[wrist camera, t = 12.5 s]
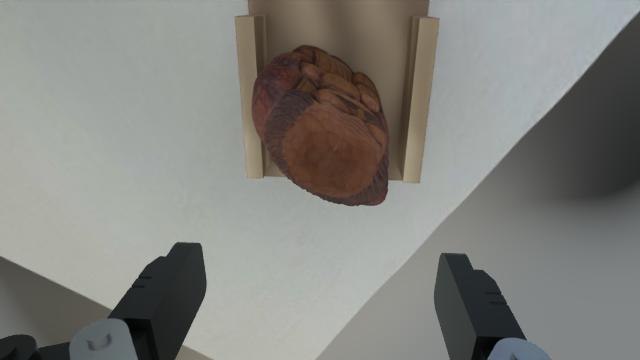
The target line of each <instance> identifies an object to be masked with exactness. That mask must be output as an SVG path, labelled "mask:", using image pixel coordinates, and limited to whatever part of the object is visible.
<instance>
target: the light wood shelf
mask: <svg viewBox="0 0 640 360" xmlns="http://www.w3.org/2000/svg"><path fill="white" fill-rule="evenodd" d="M428 6H429V0H248V8H249V15H244V16H236V17H235V25H236V38H237V51H238V65H239V78H240V91H241V104H242V117H243V130H244V143H245V156H246V169H247V178H263V177H264V176H272V177H286V176H285V175H284V174H283V173H281V172H280V170H279V168H278V167H277V166H276V165H275V164H274V162H273V160H272V158H271V156H270V155H269V151H268V150H267V147H266V145H265V144H264V143H263V142H262V140H261V139H260V137H259V135H258V134H257V132H256V129H255V126H254V122H253V119H252V111H251V107H252V95H253V87H254V83H255V80H256V78H257V77H258V75H259V73H260V72H261V71H262V70H263V69H264V68H265V67H266V66H267V65H268V64H270V62H271V61H272V59H273V58H274V57H276V56H278V55H280V54H282V53H285V52H292V51H293V50H294V49H296V48H297V47H299V46H301V45H304V44H305V45H311V46H316V47H318V48H320V49H322V50H324V51H326V52H327V53H328V54H329V55H332V56H336V57H338V58H340V59H341V60H343V61H344V62H345V63H346V64H347V65H348V66H349V68H350V69H351V70H352V71H353V72H354V73H355V74H356V73H358V72H362V73H364V74H366V75H367V76H368V77H369V78H370V79H371V80H372V82H373V83H374V85H375V87H376V90H377V92H378V94H379V97H380V100H381V105H382V109H383V112H384V116H385V118H386V121H387V126H388V131H389V145H388V150H389V156H388V159H389V167H388V180H402V181H403V183H420V175H421V167H422V159H423V151H424V142H425V134H426V126H427V118H428V110H429V101H430V93H431V85H432V77H433V68H434V60H435V52H436V44H437V36H438V27H439V18H434V17H428V16H427V15H428Z"/></svg>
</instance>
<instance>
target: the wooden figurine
mask: <svg viewBox="0 0 640 360" xmlns="http://www.w3.org/2000/svg"><path fill="white" fill-rule="evenodd" d="M251 111H252V119H253V122H254V126H255V129H256V132H257V134H258V135H259V137H260V139H261V140H262V142H263V143H264V144H265V145H266V147H267V150H268V151H269V155H270V156H271V158H272V160H273V162H274V164H275V165H276V166H277V167H278V168H279V170H280V172H281V173H283V174H284V175H285V176H286V177H287V178H288V179H289V180H292V182H293V183H294V184H296V185H298V186H299V187H301V188H302V189H306V191H307V192H310V193H311V194H313V195H317V196H319V197H320V198H322V199H323V200H327V201H329V202H333V203H337V204H344V205H347V206H355V205H356V206H359V205H368V206H374V205H378V204H381V203H382V202H383V201H384V200H385V197H386V195H387V192H388V188H387V187H388V167H389V159H388V156H389V150H388V145H389V131H388V126H387V121H386V118H385V116H384V112H383V109H382V105H381V100H380V97H379V94H378V92H377V90H376V87H375V85H374V83H373V82H372V80H371V79H370V78H369V77H368V76H367V75H366V74H364V73H362V72H358V73H356V74H355V73H354V72H353V71H352V70H351V69H350V68H349V66H348V65H347V64H346V63H345V62H344V61H343V60H341V59H340V58H338V57H336V56H332V55H329V54H328V53H327V52H326V51H324V50H322V49H320V48H318V47H316V46H311V45H305V44H304V45H301V46H299V47H297V48H296V49H294V50H293V51H292V52H285V53H282V54H280V55H278V56H276V57H274V58H273V59H272V61H271V62H270V64H268V65H267V66H266V67H265V68H264V69H263V70H262V71H261V72H260V73H259V75H258V77H257V78H256V80H255V83H254V87H253V95H252V107H251Z"/></svg>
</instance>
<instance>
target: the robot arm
mask: <svg viewBox="0 0 640 360" xmlns="http://www.w3.org/2000/svg"><path fill="white" fill-rule="evenodd" d="M206 284H207V282H206V273H205V266H204V259H203V252H202V247H201V244H200V243H186V242H177V243H175V245H174V246H173V247H172V249H171V250H170V252H169V253H168V255H167V256H166V257H163V256H160V257H158V258H157V259H155V260H154V261H152V262H151V263H150V264H148V265H147V266H146V267H145V268H144V270H143V271H142V272H141V274H140V275H139V276H138V279H136V280H135V282H134V283H133V284H132V287H131V288H129V290H128V291H127V292H126V294H125V295H124V296H123V298H122V299H121V300H120V302H119V303H118V304H117V306H116V307H115V308H114V310H113V311H112V312H111V314H110V315H109V317H108V318H107V319H103V320H99V321H96V322H94V323H91V324H90V325H88V326H86V327H84V328H83V329H81V330H80V331H79V332H78V333H77V334H76V335H75V336H74V338H73V339H72V341H71V342H67V343H62V344H57V345H52V346H46V347H41V348H38V346H37V343H36V341H35V339H34V338H33V337H31V336H29V335H22V334H21V335H13V336H9V337H5V338H3V339H0V360H175V358H176V356H177V354H178V352H179V350H180V347H181V346H182V343H183V341H184V339H185V337H186V335H187V333H188V331H189V329H190V327H191V324H192V322H193V320H194V318H195V316H196V314H197V312H198V310H199V308H200V305H201V303H202V301H203V299H204V296H205V293H206ZM434 303H435V310H436V313H437V317H438V320H439V323H440V327H441V330H442V333H443V337H444V340H445V344H446V347H447V351H448V354H449V357H450V360H552V359H551V358H550V357H549V355H548V354H547V353H546V352H545V351H544V350H542V349H541V348H539V347H538V346H537V345H535V344H533V343H531V342H529V341H527V339H526V338H525V336H524V334H523V332H522V330H521V328H520V326H519V325H518V323H517V321H516V319H515V317H514V315H513V313H512V312H511V310H510V308H509V306H508V305H507V302H506V300H505V299H504V297H503V295H501V291H500V289H499V287H498V286H497V284H496V282H495V280H494V279H492V278H491V277H490V276H489V275H488V274H487V273H485V272H484V271H483V270H473V267H472V265H471V263H470V261H469V259H468V257H467V255H466V254H458V253H442V254H441V255H440V259H439V265H438V272H437V278H436V284H435V290H434Z"/></svg>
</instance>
